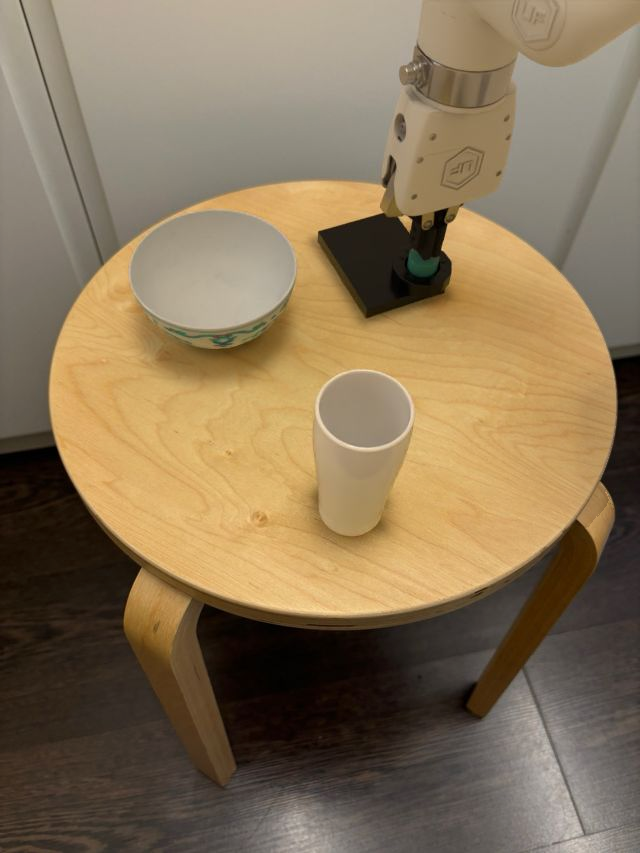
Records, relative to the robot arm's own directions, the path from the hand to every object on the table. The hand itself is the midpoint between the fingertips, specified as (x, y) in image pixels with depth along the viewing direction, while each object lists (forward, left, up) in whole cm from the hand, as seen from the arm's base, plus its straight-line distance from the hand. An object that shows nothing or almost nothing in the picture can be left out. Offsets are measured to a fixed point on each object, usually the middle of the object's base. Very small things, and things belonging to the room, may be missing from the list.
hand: (424, 249), depth 69 cm
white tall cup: (+17, +21, -5) cm, 27 cm away
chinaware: (+20, -3, -5) cm, 21 cm away
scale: (+2, -4, -5) cm, 7 cm away
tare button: (0, 0, -2) cm, 2 cm away
